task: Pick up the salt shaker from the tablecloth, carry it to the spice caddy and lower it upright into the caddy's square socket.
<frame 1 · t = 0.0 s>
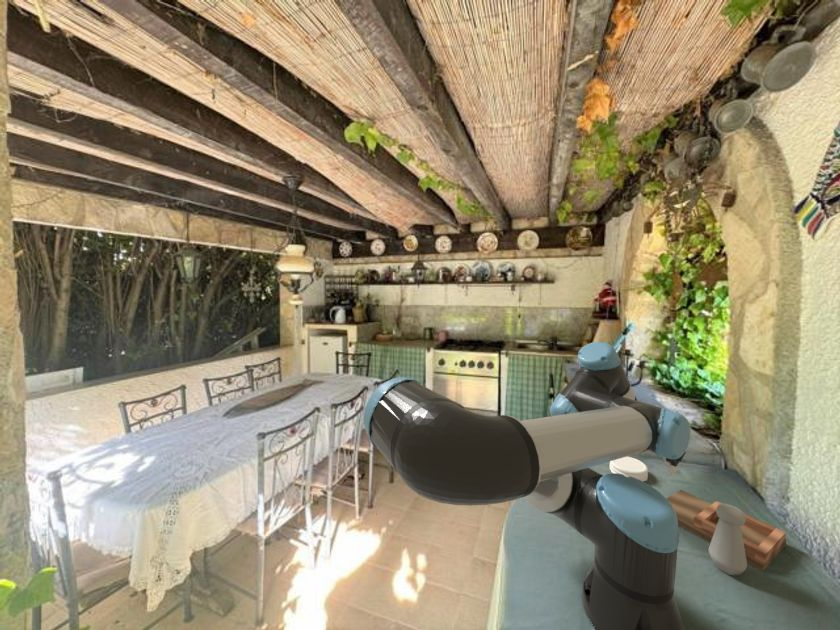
hand: (642, 457, 81), 15 cm above the table, tool tilted 35°, fingers open, 13 cm apart
coaster: (627, 474, 100), on the table
salt shaker: (726, 568, 67), on the table
spice caddy: (737, 538, 74), on the table
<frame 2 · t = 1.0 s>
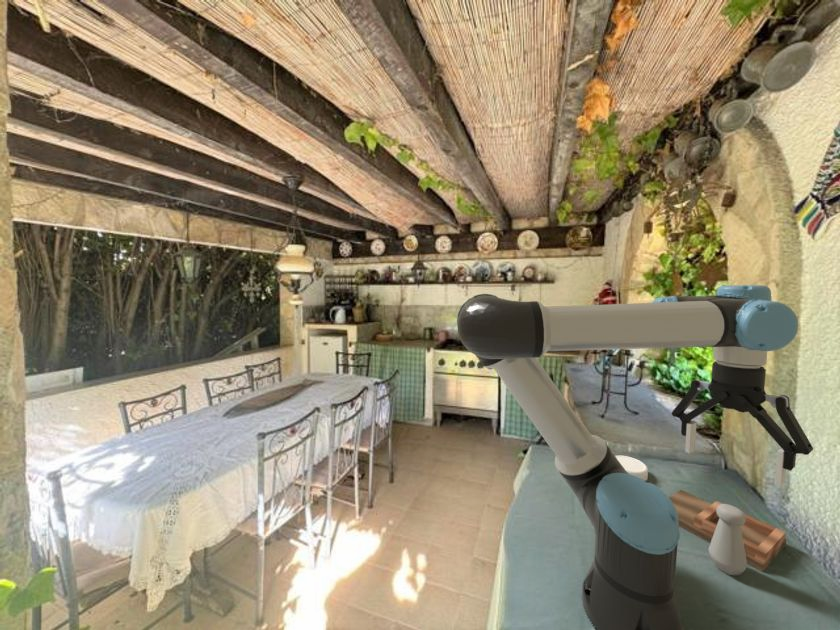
hand: (730, 466, 65), 22 cm above the table, tool pointing down, fingers open, 13 cm apart
nothing on the table moved.
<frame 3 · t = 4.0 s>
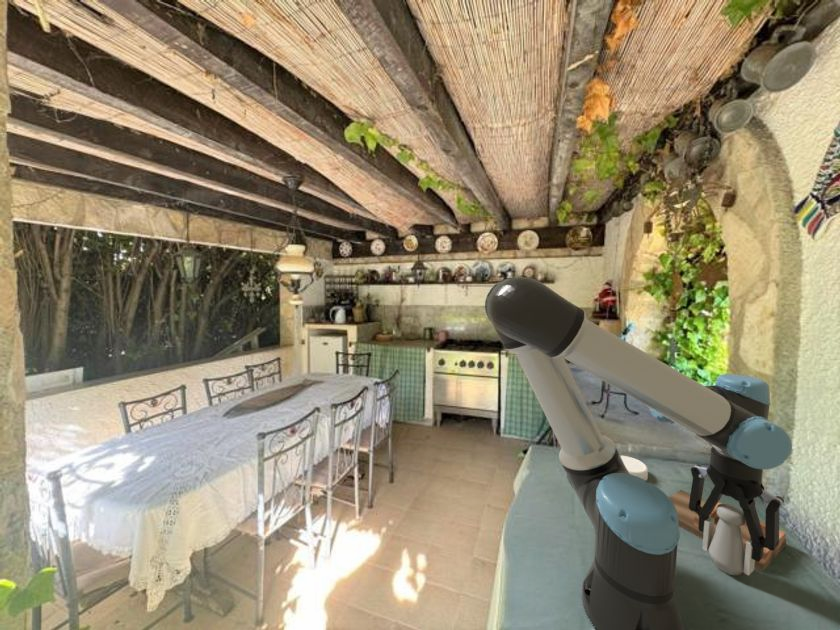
hand: (727, 558, 67), 2 cm above the table, tool pointing down, fingers closed on salt shaker, 6 cm apart
salt shaker: (726, 568, 67), on the table, touching gripper
everything else where it was.
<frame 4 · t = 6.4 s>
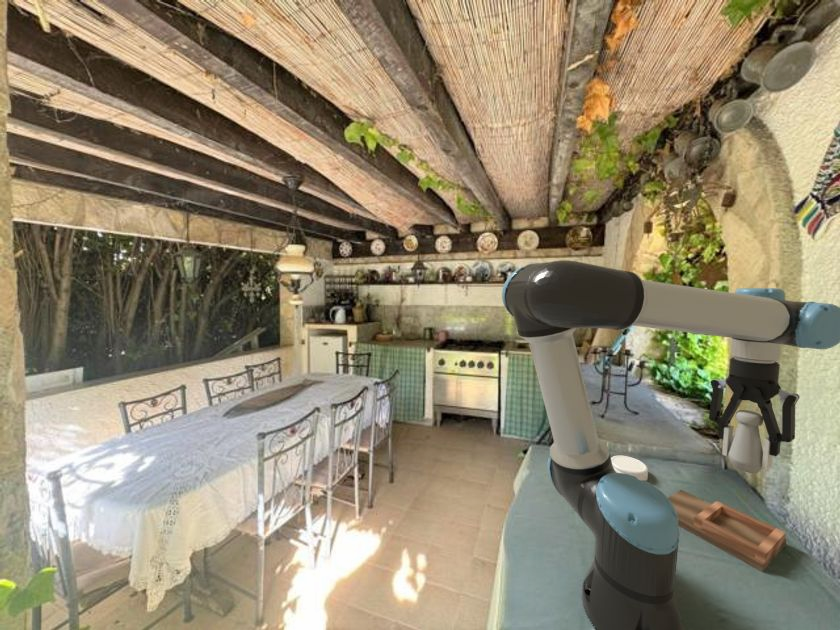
hand: (746, 460, 72), 19 cm above the table, tool pointing down, fingers closed on salt shaker, 6 cm apart
salt shaker: (745, 468, 72), point 17 cm above the table, touching gripper
everything else where it was.
when the fingers open (5 cm above the table, at t = 9.2 s): salt shaker drops 2 cm, resting on spice caddy.
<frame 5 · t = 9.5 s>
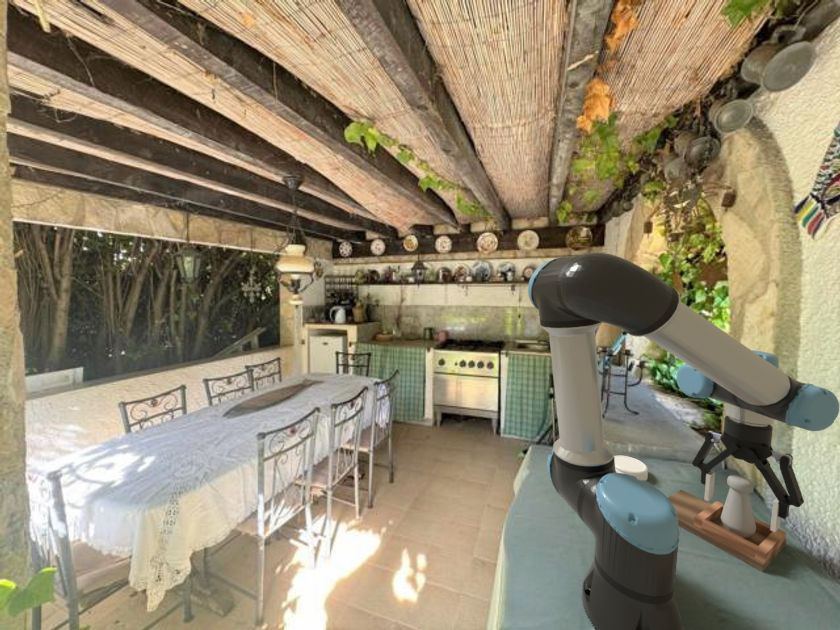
hand: (739, 512, 74), 6 cm above the table, tool pointing down, fingers open, 10 cm apart
salt shaker: (737, 533, 74), point 1 cm above the table, touching spice caddy
everything else where it was.
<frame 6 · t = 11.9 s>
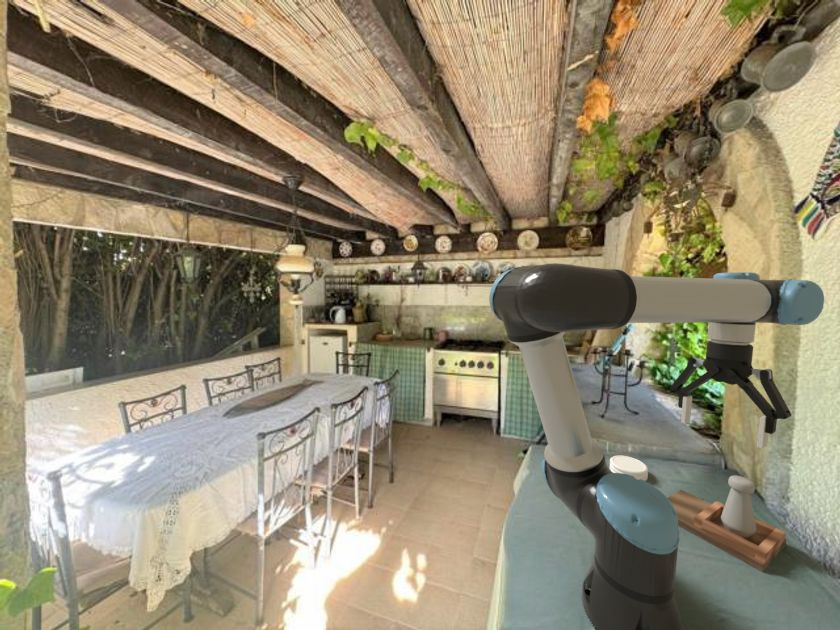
hand: (720, 433, 74), 24 cm above the table, tool pointing down, fingers open, 13 cm apart
nothing on the table moved.
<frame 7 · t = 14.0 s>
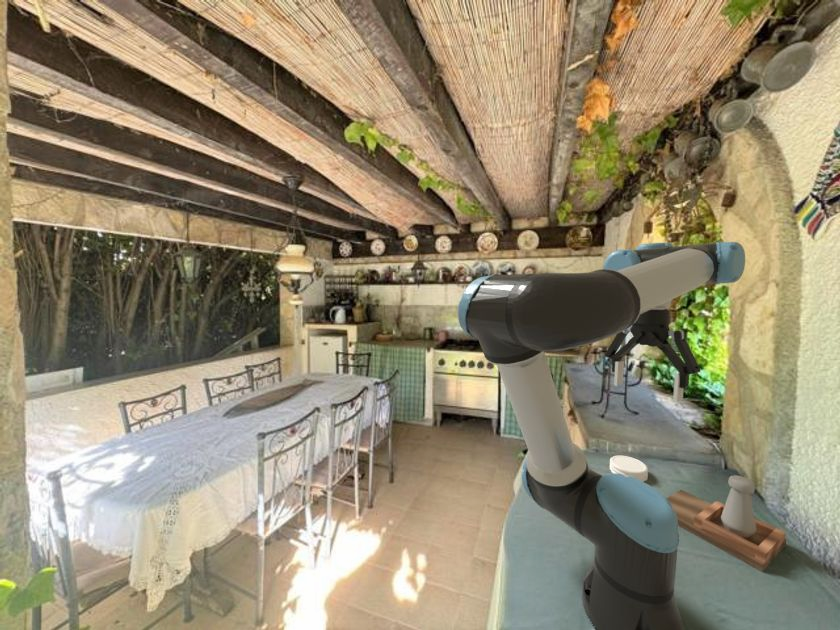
hand: (646, 392, 81), 32 cm above the table, tool pointing down, fingers open, 13 cm apart
nothing on the table moved.
at the end: salt shaker 0.1 cm off-centre on the spice caddy, point 1.3 cm above the spice caddy's base; salt shaker tilted 0°; the gripper is holding nothing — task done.
